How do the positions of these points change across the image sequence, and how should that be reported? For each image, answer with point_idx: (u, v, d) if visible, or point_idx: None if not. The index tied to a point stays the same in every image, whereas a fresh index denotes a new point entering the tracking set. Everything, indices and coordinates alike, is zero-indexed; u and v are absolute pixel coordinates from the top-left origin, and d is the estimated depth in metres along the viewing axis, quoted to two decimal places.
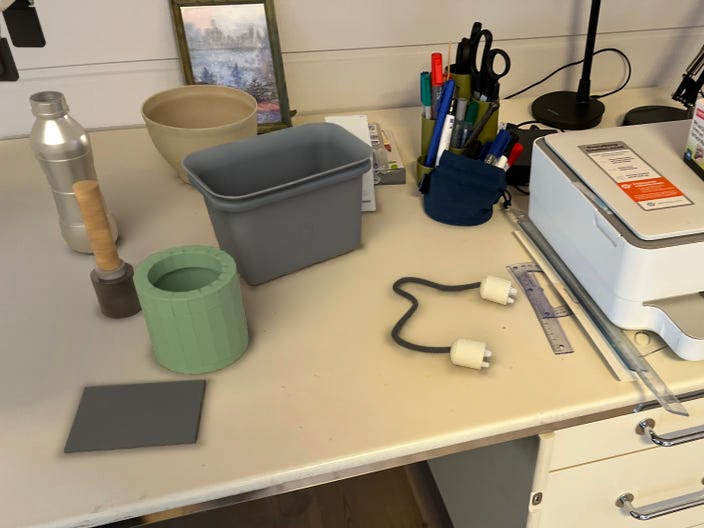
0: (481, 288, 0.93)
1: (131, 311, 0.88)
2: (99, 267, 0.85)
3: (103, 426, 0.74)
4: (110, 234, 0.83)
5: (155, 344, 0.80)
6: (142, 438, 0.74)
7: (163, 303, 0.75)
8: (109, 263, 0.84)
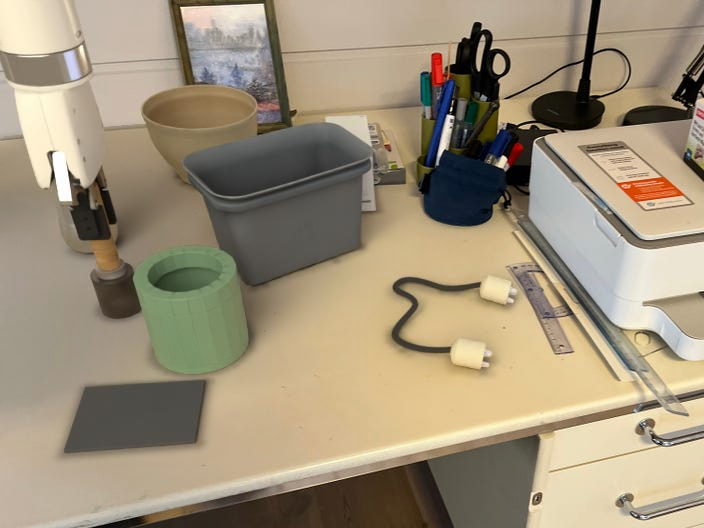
0: (481, 288, 0.93)
1: (131, 311, 0.88)
2: (99, 267, 0.85)
3: (103, 426, 0.74)
4: None
5: (155, 344, 0.80)
6: (142, 438, 0.74)
7: (163, 303, 0.75)
8: (109, 263, 0.84)
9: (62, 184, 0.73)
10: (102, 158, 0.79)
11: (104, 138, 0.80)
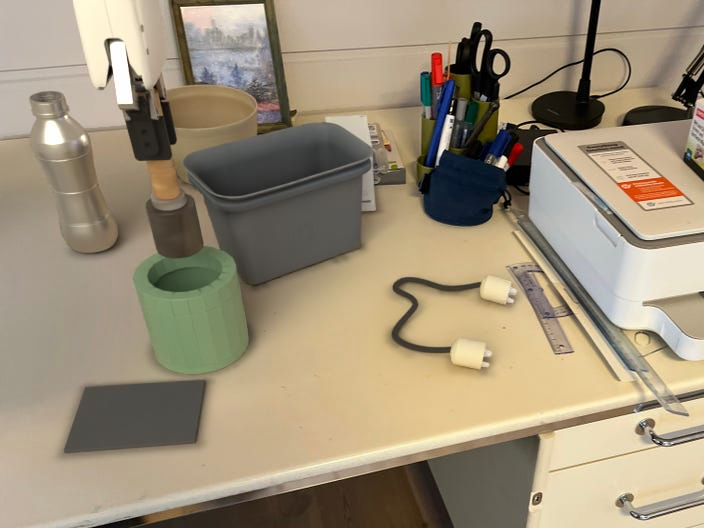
0: (481, 288, 0.93)
1: (191, 250, 0.76)
2: (156, 196, 0.72)
3: (103, 426, 0.74)
4: None
5: (155, 344, 0.80)
6: (142, 438, 0.74)
7: (163, 303, 0.75)
8: (168, 190, 0.72)
9: (121, 82, 0.61)
10: (163, 60, 0.66)
11: (165, 37, 0.67)
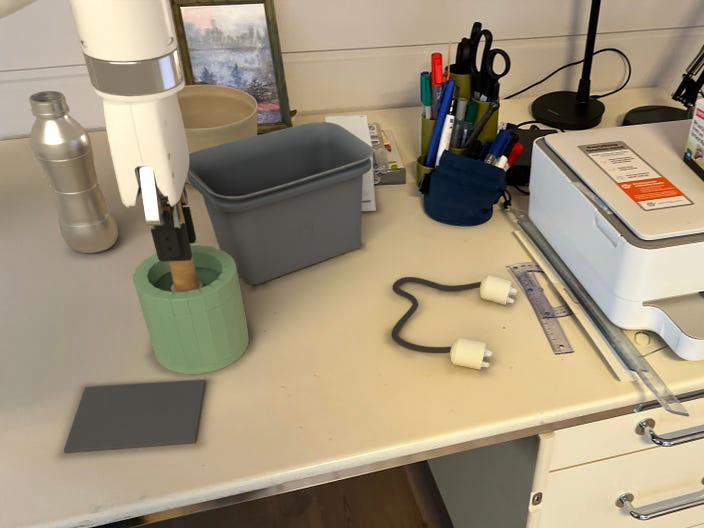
0: (481, 288, 0.93)
1: None
2: (177, 289, 0.79)
3: (103, 426, 0.74)
4: None
5: (155, 344, 0.80)
6: (142, 438, 0.74)
7: (163, 303, 0.75)
8: (188, 285, 0.78)
9: (149, 202, 0.67)
10: (186, 173, 0.73)
11: (187, 151, 0.74)
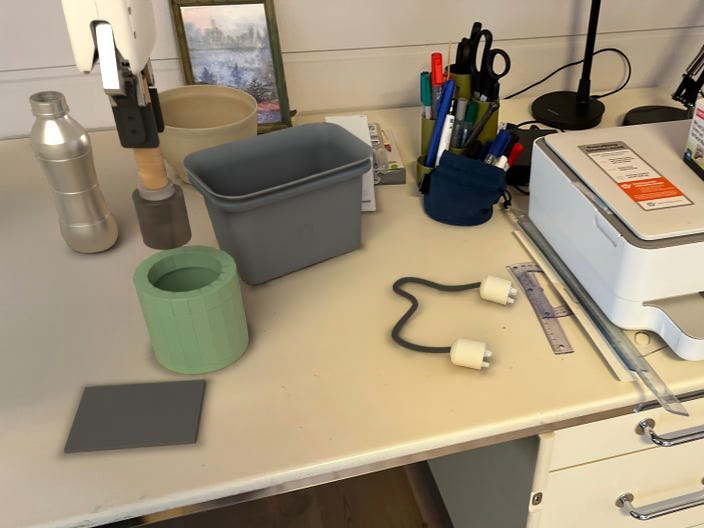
0: (481, 288, 0.93)
1: (179, 241, 0.74)
2: (143, 185, 0.70)
3: (103, 426, 0.74)
4: None
5: (155, 344, 0.80)
6: (142, 438, 0.74)
7: (163, 303, 0.75)
8: (156, 180, 0.70)
9: (107, 65, 0.59)
10: (152, 44, 0.65)
11: (153, 21, 0.65)
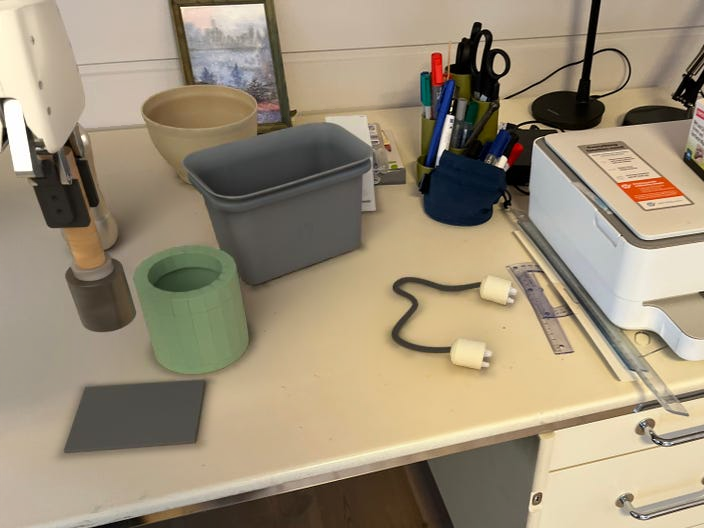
0: (481, 288, 0.93)
1: (120, 322, 0.67)
2: (77, 264, 0.63)
3: (103, 426, 0.74)
4: (91, 220, 0.62)
5: (155, 344, 0.80)
6: (142, 438, 0.74)
7: (163, 303, 0.75)
8: (90, 259, 0.63)
9: (18, 146, 0.52)
10: (77, 115, 0.58)
11: (80, 88, 0.59)
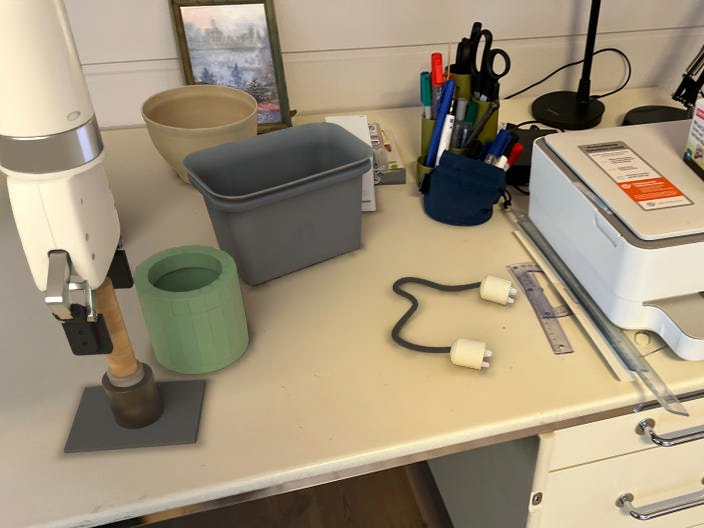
0: (481, 288, 0.93)
1: (150, 420, 0.75)
2: (112, 373, 0.71)
3: (103, 426, 0.74)
4: (126, 336, 0.70)
5: (155, 344, 0.80)
6: (142, 438, 0.74)
7: (163, 303, 0.75)
8: (124, 368, 0.71)
9: (54, 278, 0.57)
10: (114, 247, 0.65)
11: (117, 221, 0.66)
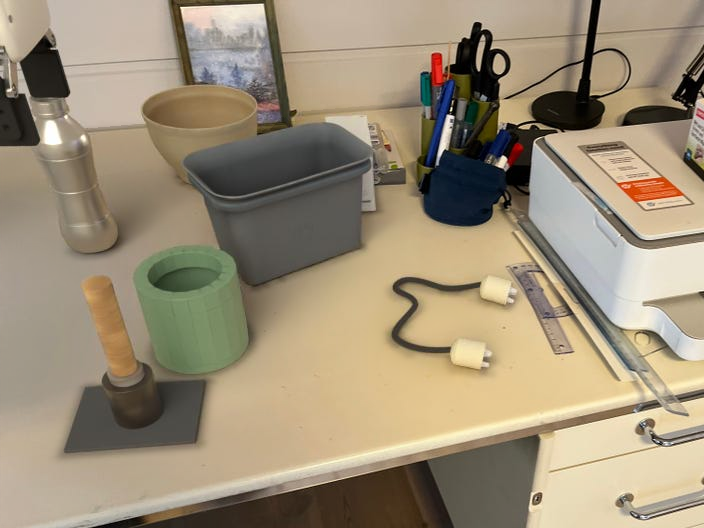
0: (481, 288, 0.93)
1: (150, 420, 0.75)
2: (112, 373, 0.71)
3: (103, 426, 0.74)
4: (126, 336, 0.70)
5: (155, 344, 0.80)
6: (142, 438, 0.74)
7: (163, 303, 0.75)
8: (124, 368, 0.71)
9: None
10: (41, 31, 0.60)
11: (45, 6, 0.61)
